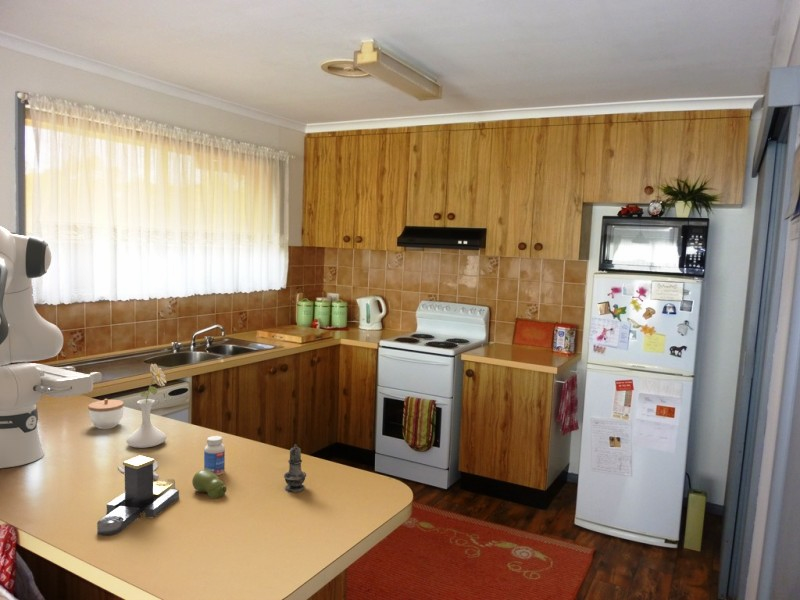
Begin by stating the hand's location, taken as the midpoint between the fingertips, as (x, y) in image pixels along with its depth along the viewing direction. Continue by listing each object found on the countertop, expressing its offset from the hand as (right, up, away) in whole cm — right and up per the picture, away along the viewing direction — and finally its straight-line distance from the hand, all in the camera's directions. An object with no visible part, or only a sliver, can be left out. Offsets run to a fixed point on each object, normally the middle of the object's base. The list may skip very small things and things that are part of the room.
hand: (86, 372), depth 131 cm
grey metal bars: (+7, -34, +6) cm, 35 cm away
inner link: (+9, -33, +18) cm, 38 cm away
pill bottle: (+18, -32, +32) cm, 49 cm away
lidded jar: (-29, -27, +68) cm, 78 cm away
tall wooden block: (+8, -33, +9) cm, 36 cm away
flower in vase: (-9, -29, +52) cm, 60 cm away
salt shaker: (+42, -33, +23) cm, 59 cm away
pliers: (-1, -32, +30) cm, 44 cm away
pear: (+21, -33, +19) cm, 44 cm away
